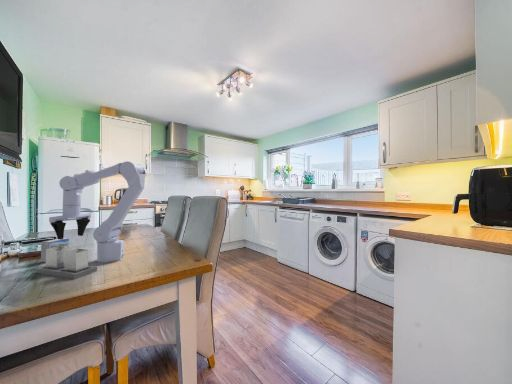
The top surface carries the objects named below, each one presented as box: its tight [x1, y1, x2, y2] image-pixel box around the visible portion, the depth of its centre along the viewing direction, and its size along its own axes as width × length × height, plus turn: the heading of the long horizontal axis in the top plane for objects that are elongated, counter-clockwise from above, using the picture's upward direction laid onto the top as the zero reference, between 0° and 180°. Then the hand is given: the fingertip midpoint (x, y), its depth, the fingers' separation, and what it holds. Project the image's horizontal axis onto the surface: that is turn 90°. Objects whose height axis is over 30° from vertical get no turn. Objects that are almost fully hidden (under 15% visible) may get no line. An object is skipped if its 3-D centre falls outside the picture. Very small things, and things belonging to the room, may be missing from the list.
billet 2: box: [64, 248, 89, 273], centre depth 74 cm, size 6×4×8 cm
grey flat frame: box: [35, 265, 98, 280], centre depth 75 cm, size 18×7×2 cm, turn 75°
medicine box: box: [40, 237, 70, 263], centre depth 92 cm, size 8×4×9 cm, turn 168°
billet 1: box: [45, 247, 71, 270], centre depth 76 cm, size 6×4×8 cm
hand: (70, 237), depth 89 cm, fingers open, 7 cm apart
